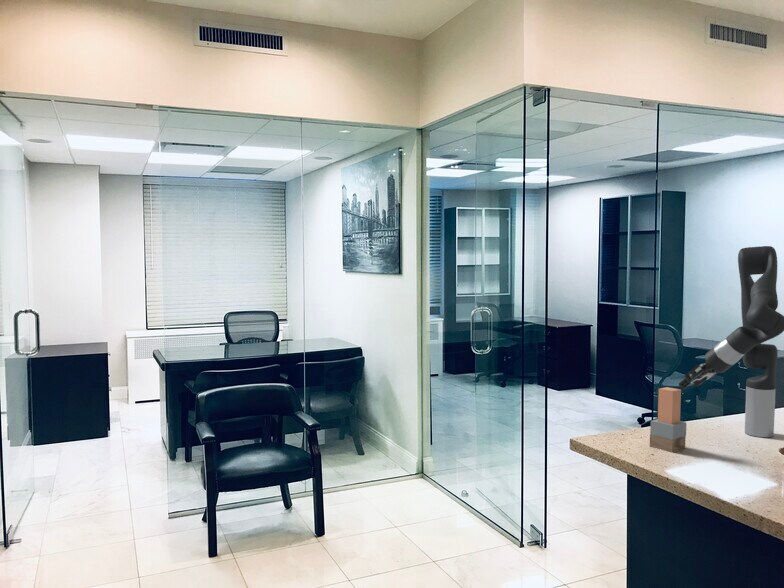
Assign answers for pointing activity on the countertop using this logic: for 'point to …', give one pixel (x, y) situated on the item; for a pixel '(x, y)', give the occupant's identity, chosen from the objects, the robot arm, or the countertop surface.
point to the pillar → (669, 405)
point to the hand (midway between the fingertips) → (688, 385)
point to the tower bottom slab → (667, 443)
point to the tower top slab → (668, 429)
